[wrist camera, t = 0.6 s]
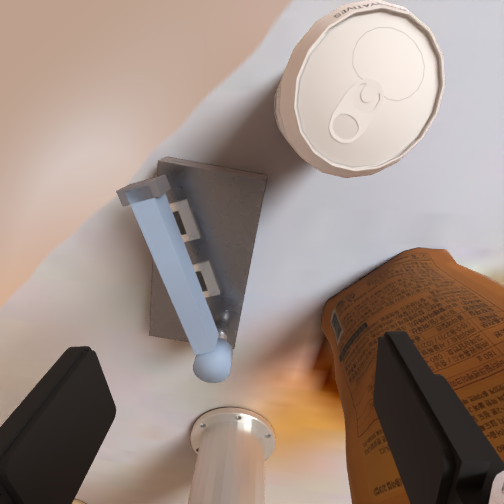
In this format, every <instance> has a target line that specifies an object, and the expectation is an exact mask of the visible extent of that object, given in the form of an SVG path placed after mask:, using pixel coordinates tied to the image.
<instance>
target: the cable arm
mask: <svg viewBox="0 0 504 504" xmlns="http://www.w3.org/2000/svg"><path fill="white" fill-rule="evenodd" d="M170 189H171V188H170V185H169V182H168V180H167V177H166V174H165V175H162V176H158V177H155V178H151V179H147V180H144V181H140V182H137V183H133V184H130V185H128V186H126V187H124V188H122V189H120V190H118V191H116V192H117V194H118V197H119V199H120V201H121V203H122V206H126V205H130V206H131V208H132V210H133V213H134V215H135V217H136V220H137V222H138V224H139V226H140V229H141V231H142V233H143V236H144V238H145V240H146V243H147V245H148V247H149V250H150V252H151V254H152V257H153V259H154V261H155V263H156V266H157V268H158V270H159V273H160V275H161V277H162V280H163V282H164V284H165V287H166V289H167V291H168V294H169V296H170V298H171V301H172V303H173V305H174V307H175V310H176V312H177V314H178V317H179V319H180V321H181V324H182V326H183V328H184V331H185V333H186V335H187V338H188V340H189V342H190V345H191V347H192V349H193V351H194V354H195V355H196V357H195V361H194V364H193V371H194V373H195V375H196V376H197V377H198V378H199V379H201V380H203V381H205V382H209V383H218V382H221V381H223V380H225V379H226V378H227V377H228V376H229V374H230V369H231V361H232V354H233V350H232V347H231V345H230V344H229V343H228V342H227V341H226V340H224V339H222V338H219V337H218V335H219V333H218V331H217V328H216V325H215V323H214V320H213V317H212V315H211V312H210V310H209V307H208V304H207V302H206V299H205V296H204V294H203V291H202V289H201V286H200V283H199V281H198V278H197V275H196V273H195V270H194V268H193V265H192V262H191V260H190V257H189V254H188V252H187V249H186V247H185V244H184V241H183V239H182V236H181V233H180V231H179V228H178V226H177V223H176V220H175V218H174V215H173V212H172V210H171V207H170V205H169V202H168V199H167V197H166V194H165V193H166V192H167V191H169V190H170Z"/></svg>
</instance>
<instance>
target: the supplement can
mask: <svg viewBox="0 0 504 504" xmlns="http://www.w3.org/2000/svg"><path fill="white" fill-rule="evenodd" d="M444 87H445V77H444V61H443V54H442V52H441V50H440V48H439V46H438V43H437V41H436V39H435V37H434V35H433V33H432V30H431V29H429V28H428V27H427V26H426V25H425V24H424V23H423V22H421V21H420V20H419V19H418V18H417V17H416V16H414V15H413V14H412V13H411V12H410V11H409V10H407V9H406V8H405V7H403V6H399V5H395V4H391V3H388V2H384V1H380V0H367V1H362V2H356V3H350V4H344V5H342V6H341V7H339V8H338V9H336V10H334V11H333V12H331V13H329V14H328V15H326V16H325V17H323V18H321V19H320V20H318V21H316V22H315V23H314V25H313V26H312V27H311V28H310V29H309V31H308V32H307V33H306V34H305V36H304V37H303V38H302V39H301V40H300V42H299V43H298V44H297V45H296V47H295V48H294V50H293V52H292V54H291V57H290V59H289V61H288V64H287V66H286V68H285V71H284V73H283V76H282V78H281V80H280V83H279V86H278V88H277V91H276V93H275V102H274V115H275V118H276V122H277V126H278V129H279V130H280V132H281V133H282V135H283V136H284V138H285V139H286V141H287V142H288V143H289V144H290V145H291V147H292V148H293V149H294V150H295V151H296V152H297V154H298V155H299V156H300V157H301V158H302V159H303V160H305V161H306V162H308V163H309V164H311V165H312V166H313V167H315V168H316V169H318V170H319V171H321V172H323V173H327V174H331V175H335V176H340V177H344V178H350V177H358V176H366V175H372V174H374V173H376V172H379V171H381V170H383V169H385V168H387V167H389V166H391V165H393V164H395V163H397V162H398V161H399V160H400V159H401V158H402V157H403V156H405V155H406V154H407V153H408V152H409V151H410V150H411V149H412V148H413V147H414V146H415V145H416V144H418V142H419V141H420V140H421V139H422V138H423V137H424V135H425V133H426V132H427V130H428V129H429V127H430V125H431V124H432V122H433V120H434V119H435V117H436V115H437V114H438V110H439V106H440V102H441V98H442V95H443V91H444Z"/></svg>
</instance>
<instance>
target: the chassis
mask: <svg viewBox="0 0 504 504" xmlns="http://www.w3.org/2000/svg"><path fill="white" fill-rule="evenodd" d="M165 174H166V177H167V180H168V182H169V185H170V188H171V189H170V190H169V191H167V192H166V193H165V194H166V197H167V199H168V202H169V205H170V207H171V210H172V212H173V215H174V218H175V220H176V223H177V226H178V228H179V231H180V233H181V236H182V239H183V241H184V244H185V247H186V249H187V252H188V254H189V257H190V260H191V262H192V265H193V268H194V270H195V273H196V275H197V278H198V281H199V283H200V286H201V289H202V291H203V294H204V296H205V299H206V302H207V304H208V307H209V310H210V312H211V315H212V317H213V320H214V323H215V325H216V328H217V331H218V333H219V335H218V337H219V338H222V339H224V340H226V341H227V342H228V343H229V344H230V345H231V347H232V349H234V347H235V341H236V336H237V331H238V326H239V321H240V316H241V310H242V305H243V300H244V295H245V290H246V284H247V279H248V274H249V269H250V264H251V259H252V253H253V248H254V243H255V238H256V233H257V227H258V222H259V217H260V212H261V207H262V201H263V196H264V191H265V186H266V181H267V180H266V175H264V174H259V173H253V172H248V171H242V170H237V169H232V168H226V167H221V166H215V165H210V164H204V163H199V162H194V161H188V160H183V159H177V158H172V157H165V158H163V159H161V160H158V168H157V177H158V176H162V175H165ZM149 336H155V337H161V338H168V339H174V340H180V341H186V342H189V340H188V338H187V335H186V333H185V331H184V328H183V326H182V324H181V321H180V319H179V317H178V314H177V312H176V310H175V307H174V305H173V303H172V301H171V298H170V296H169V294H168V291H167V289H166V287H165V284H164V282H163V280H162V277H161V275H160V273H159V270H158V268H157V266H156V263H155V261H154V259H153V270H152V290H151V310H150V330H149Z"/></svg>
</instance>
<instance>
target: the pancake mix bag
mask: <svg viewBox="0 0 504 504" xmlns="http://www.w3.org/2000/svg"><path fill="white" fill-rule="evenodd" d="M321 330H322V331H323V333H324V334H325V336H326V337H327V339H328V341H329V343H330V345H331V347H332V350H333V355H334V361H335V378H336V382H337V387H338V391H339V395H340V399H341V403H342V408H343V412H344V417H345V430H346V462H347V472H348V479H349V485H350V492H351V499H352V504H410V501H409V499H408V496H407V493H406V491H405V488H404V485H403V483H402V480H401V477H400V475H399V472H398V469H397V467H396V464H395V461H394V459H393V456H392V454H391V451H390V448H389V446H388V443H387V440H386V438H385V435H384V432H383V430H382V427H381V424H380V422H379V419H378V416H377V414H376V411H375V408H374V402H373V395H374V383H375V371H376V360H377V348H378V338H379V337H381V336H384V333H385V332H386V331H405V332H406V333H407V334H408V335H409V337H410V339H411V340H412V342H413V343H414V345H415V346H416V348H417V349H418V351H419V352H420V354H421V355H422V357H423V358H424V360H425V361H426V363H427V364H428V366H429V367H430V369H431V370H432V372H433V373H434V374H440V375H442V376H443V377H444V378H445V379H446V380H447V381H448V383H449V384H450V386H451V387H452V389H453V390H454V391H455V393H456V394H457V396H458V397H459V399H460V400H461V402H462V403H463V404H464V406H465V407H466V409H467V410H468V412H469V413H470V415H471V416H472V417H473V419H474V420H475V422H476V423H477V425H478V426H479V428H480V429H481V430H482V432H483V433H484V435H485V436H486V438H487V439H488V441H489V442H490V443H491V445H492V446H493V448H494V449H495V451H496V452H497V454H498V455H499V456H500V458H501V459H502V461H503V462H504V285H503V284H501V283H499V282H497V281H495V280H493V279H491V278H490V277H488V276H485V275H483V274H480V273H478V272H475V271H473V270H470V269H468V268H466V267H463V266H461V265H458V264H457V263H456V262H455V260H454V259H453V257H452V256H451V255H450V253H449V252H448V251H447V250H445V249H429V248H421V247H418V248H414V249H410V250H406V251H403V252H402V253H400V254H398V255H397V256H395V257H394V258H392V259H391V260H389V261H388V262H386V263H385V264H383V265H382V266H380V267H379V268H377V269H375V270H374V271H372V272H371V273H369V274H368V275H366V276H365V277H363V278H362V279H360V280H359V281H357V282H356V283H354V284H353V285H351V286H350V287H348V288H347V289H345V290H343V291H342V292H340V293H338V294H337V295H335V296H333V297H332V298H330V299H329V300H328V301H327V303H326V305H325V307H324V309H323V314H322V320H321Z"/></svg>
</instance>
